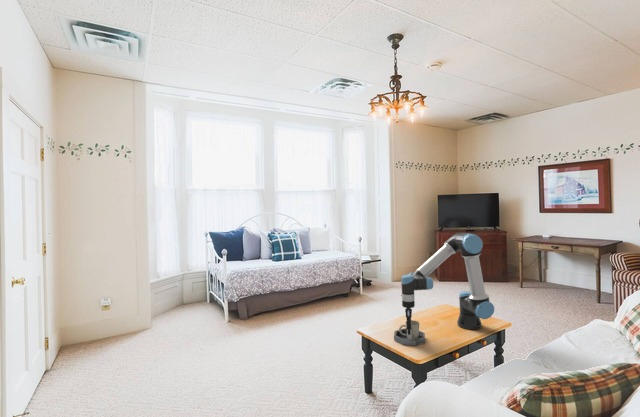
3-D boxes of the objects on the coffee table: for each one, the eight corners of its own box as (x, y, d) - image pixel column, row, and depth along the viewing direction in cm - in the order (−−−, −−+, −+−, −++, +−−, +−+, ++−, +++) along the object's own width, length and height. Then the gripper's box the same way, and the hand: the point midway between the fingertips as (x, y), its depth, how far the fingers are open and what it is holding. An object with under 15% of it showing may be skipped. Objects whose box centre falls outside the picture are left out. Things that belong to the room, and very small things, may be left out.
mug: (420, 341, 203) (420, 325, 203) (399, 340, 205) (398, 324, 206) (419, 336, 211) (418, 320, 211) (399, 335, 214) (398, 320, 214)
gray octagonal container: (424, 334, 215) (424, 329, 215) (425, 346, 197) (425, 341, 197) (395, 332, 220) (395, 327, 220) (393, 344, 202) (393, 339, 202)
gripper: (402, 295, 219) (403, 329, 219) (401, 304, 199) (402, 342, 200) (414, 295, 217) (415, 330, 217) (414, 305, 197) (415, 343, 198)
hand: (409, 336), depth 208 cm, fingers open, 8 cm apart
